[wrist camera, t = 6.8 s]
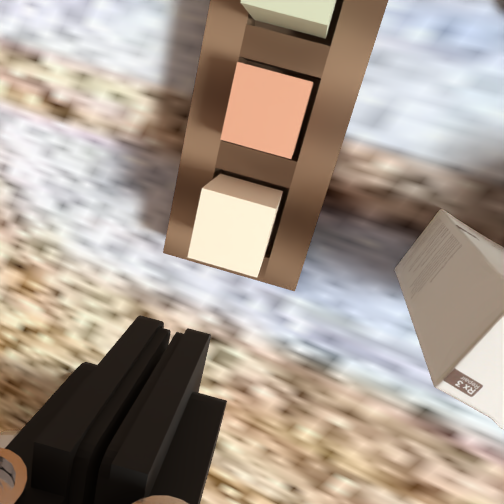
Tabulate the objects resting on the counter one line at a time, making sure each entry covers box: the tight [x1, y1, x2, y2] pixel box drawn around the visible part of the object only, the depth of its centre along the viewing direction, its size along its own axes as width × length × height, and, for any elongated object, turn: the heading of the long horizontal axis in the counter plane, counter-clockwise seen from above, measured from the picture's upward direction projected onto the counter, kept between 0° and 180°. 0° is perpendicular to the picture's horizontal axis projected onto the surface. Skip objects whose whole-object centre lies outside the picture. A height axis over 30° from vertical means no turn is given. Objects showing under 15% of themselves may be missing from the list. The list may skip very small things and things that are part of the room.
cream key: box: [188, 174, 283, 278], centre depth 27 cm, size 4×4×5 cm
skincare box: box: [395, 209, 504, 430], centre depth 25 cm, size 8×6×15 cm
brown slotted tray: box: [163, 0, 388, 291], centre depth 29 cm, size 23×10×3 cm, turn 166°
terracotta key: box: [220, 62, 313, 159], centre depth 27 cm, size 4×4×5 cm
